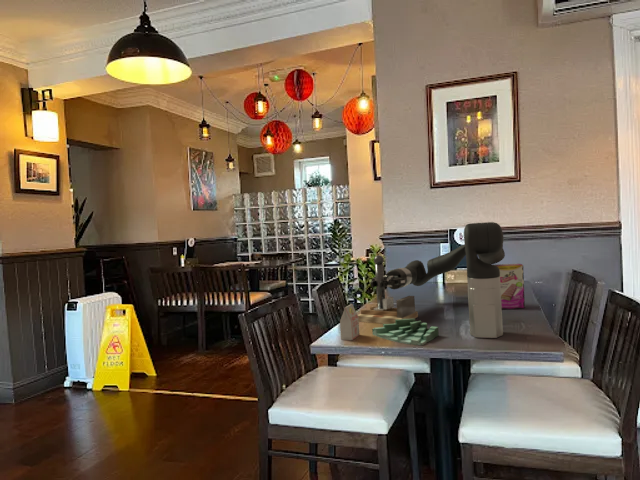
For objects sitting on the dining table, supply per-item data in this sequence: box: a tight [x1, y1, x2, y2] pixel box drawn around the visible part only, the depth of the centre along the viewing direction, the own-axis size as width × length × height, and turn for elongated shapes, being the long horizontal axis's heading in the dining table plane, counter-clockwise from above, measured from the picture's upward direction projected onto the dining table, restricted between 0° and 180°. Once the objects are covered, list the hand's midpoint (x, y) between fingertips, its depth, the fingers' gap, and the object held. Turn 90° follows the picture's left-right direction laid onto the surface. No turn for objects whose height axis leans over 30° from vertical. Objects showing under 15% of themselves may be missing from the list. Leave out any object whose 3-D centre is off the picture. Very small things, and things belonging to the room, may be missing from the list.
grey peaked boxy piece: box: [339, 303, 360, 341], centre depth 147 cm, size 4×7×10 cm, turn 157°
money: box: [371, 318, 440, 346], centre depth 144 cm, size 20×16×5 cm
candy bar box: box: [494, 263, 526, 310], centre depth 176 cm, size 11×5×16 cm, turn 84°
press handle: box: [373, 254, 395, 312], centre depth 170 cm, size 6×5×21 cm
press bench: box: [357, 295, 419, 325], centre depth 170 cm, size 18×14×8 cm
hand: (376, 284), depth 168 cm, fingers closed on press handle, 3 cm apart
